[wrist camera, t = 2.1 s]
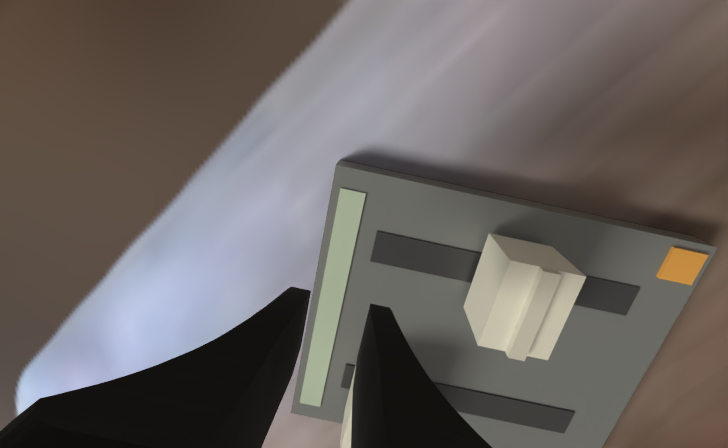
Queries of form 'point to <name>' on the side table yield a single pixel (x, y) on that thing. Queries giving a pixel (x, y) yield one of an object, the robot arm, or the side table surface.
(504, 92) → the side table surface
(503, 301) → the block
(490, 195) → the panel
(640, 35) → the side table surface
